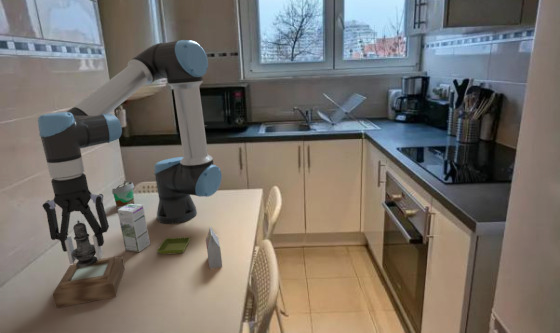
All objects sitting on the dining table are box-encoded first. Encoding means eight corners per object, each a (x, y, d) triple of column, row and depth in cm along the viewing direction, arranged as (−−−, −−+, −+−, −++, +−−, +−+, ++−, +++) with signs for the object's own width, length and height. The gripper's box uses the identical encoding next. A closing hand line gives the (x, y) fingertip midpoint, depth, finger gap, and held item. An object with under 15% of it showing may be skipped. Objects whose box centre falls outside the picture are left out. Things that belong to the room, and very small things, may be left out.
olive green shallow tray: (157, 256, 112) (156, 250, 112) (166, 243, 121) (165, 238, 120) (184, 255, 112) (184, 249, 112) (191, 242, 120) (190, 236, 120)
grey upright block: (220, 255, 110) (216, 225, 108) (222, 266, 104) (218, 235, 101) (208, 257, 109) (204, 227, 107) (209, 268, 103) (205, 237, 100)
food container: (130, 211, 151) (126, 188, 148) (115, 211, 151) (111, 189, 148) (141, 200, 163) (137, 179, 160) (128, 201, 163) (124, 180, 160)
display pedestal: (124, 268, 106) (121, 253, 104) (115, 296, 93) (112, 279, 91) (73, 277, 103) (69, 261, 101) (56, 307, 89) (51, 289, 88)
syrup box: (150, 244, 120) (143, 203, 116) (138, 252, 115) (131, 210, 111) (137, 242, 122) (129, 202, 118) (124, 250, 117) (116, 209, 113)
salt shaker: (89, 268, 92) (79, 225, 89) (69, 267, 93) (59, 224, 90) (104, 256, 98) (95, 216, 94) (85, 255, 99) (76, 215, 96)
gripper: (111, 167, 95) (126, 246, 101) (31, 176, 91) (52, 258, 97) (105, 175, 88) (122, 259, 94) (18, 184, 84) (41, 272, 90)
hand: (86, 258), depth 95 cm, fingers closed on salt shaker, 6 cm apart
